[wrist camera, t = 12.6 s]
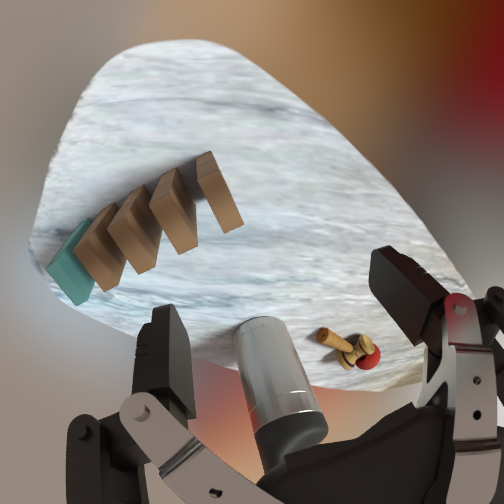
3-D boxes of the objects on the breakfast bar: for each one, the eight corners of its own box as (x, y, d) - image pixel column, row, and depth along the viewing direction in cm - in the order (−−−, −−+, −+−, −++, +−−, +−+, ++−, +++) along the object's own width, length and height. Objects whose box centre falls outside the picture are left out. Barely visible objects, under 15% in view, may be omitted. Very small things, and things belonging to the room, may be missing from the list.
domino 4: (228, 189, 30) (244, 224, 22) (214, 196, 31) (224, 233, 22) (210, 150, 28) (219, 169, 19) (195, 157, 28) (196, 180, 19)
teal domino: (109, 250, 31) (87, 300, 22) (99, 255, 31) (76, 306, 22) (88, 218, 28) (56, 261, 20) (78, 224, 28) (45, 269, 20)
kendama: (301, 341, 49) (356, 365, 55) (313, 361, 43) (369, 382, 49) (326, 309, 48) (377, 339, 54) (342, 326, 42) (393, 354, 48)
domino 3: (195, 205, 31) (197, 246, 22) (182, 211, 31) (178, 255, 22) (176, 167, 28) (168, 194, 19) (162, 174, 28) (148, 205, 19)
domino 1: (135, 235, 31) (118, 284, 22) (124, 242, 31) (104, 292, 22) (114, 202, 28) (86, 241, 20) (102, 209, 28) (72, 250, 20)
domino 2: (164, 220, 31) (155, 266, 22) (151, 227, 31) (138, 274, 22) (143, 184, 28) (123, 219, 20) (130, 192, 28) (106, 229, 20)
